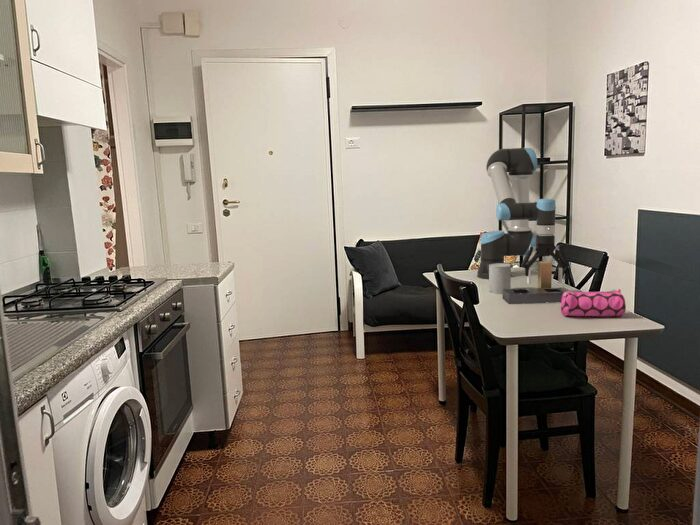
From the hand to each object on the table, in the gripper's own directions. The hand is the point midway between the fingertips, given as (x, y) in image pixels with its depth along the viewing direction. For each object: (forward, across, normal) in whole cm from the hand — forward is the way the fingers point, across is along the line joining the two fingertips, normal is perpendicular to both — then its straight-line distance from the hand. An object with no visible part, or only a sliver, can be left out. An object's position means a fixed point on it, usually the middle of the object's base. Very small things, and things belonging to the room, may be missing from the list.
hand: (544, 282), depth 234 cm
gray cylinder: (+5, -18, +6) cm, 20 cm away
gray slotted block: (+5, -7, -12) cm, 15 cm away
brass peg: (+5, 0, 0) cm, 5 cm away
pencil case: (+5, +5, -38) cm, 39 cm away
